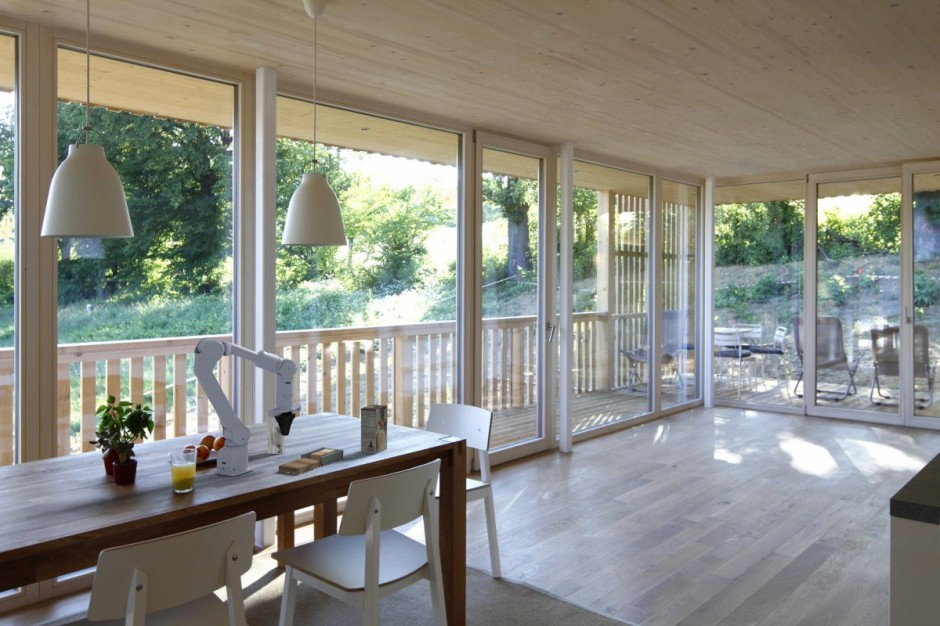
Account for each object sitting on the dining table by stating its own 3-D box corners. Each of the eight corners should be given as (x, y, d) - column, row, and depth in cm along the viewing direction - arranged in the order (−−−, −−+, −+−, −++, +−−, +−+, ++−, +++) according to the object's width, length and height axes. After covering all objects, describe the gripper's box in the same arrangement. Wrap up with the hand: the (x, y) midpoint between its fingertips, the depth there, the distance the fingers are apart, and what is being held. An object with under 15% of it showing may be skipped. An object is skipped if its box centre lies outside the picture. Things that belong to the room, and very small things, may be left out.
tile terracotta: (320, 462, 246) (320, 455, 246) (310, 461, 248) (310, 454, 247) (327, 460, 250) (327, 452, 249) (317, 458, 251) (317, 451, 251)
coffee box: (371, 447, 272) (371, 404, 271) (387, 448, 270) (387, 405, 269) (360, 452, 263) (360, 408, 263) (376, 454, 261) (376, 409, 260)
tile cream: (328, 459, 250) (328, 452, 250) (318, 458, 252) (318, 451, 252) (335, 457, 254) (335, 450, 253) (325, 456, 255) (325, 448, 255)
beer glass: (280, 455, 258) (280, 413, 257) (262, 454, 259) (262, 412, 258) (289, 451, 265) (289, 409, 264) (271, 450, 266) (271, 408, 265)
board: (298, 474, 233) (298, 468, 233) (278, 471, 236) (278, 465, 236) (321, 466, 243) (321, 460, 243) (302, 463, 247) (302, 457, 247)
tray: (322, 466, 243) (322, 457, 243) (300, 463, 247) (300, 454, 247) (343, 458, 254) (343, 450, 254) (322, 455, 258) (322, 447, 258)
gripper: (280, 398, 236) (280, 440, 236) (308, 392, 249) (308, 432, 249) (262, 397, 239) (262, 438, 239) (291, 391, 252) (291, 430, 252)
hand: (284, 435), depth 245 cm, fingers closed
